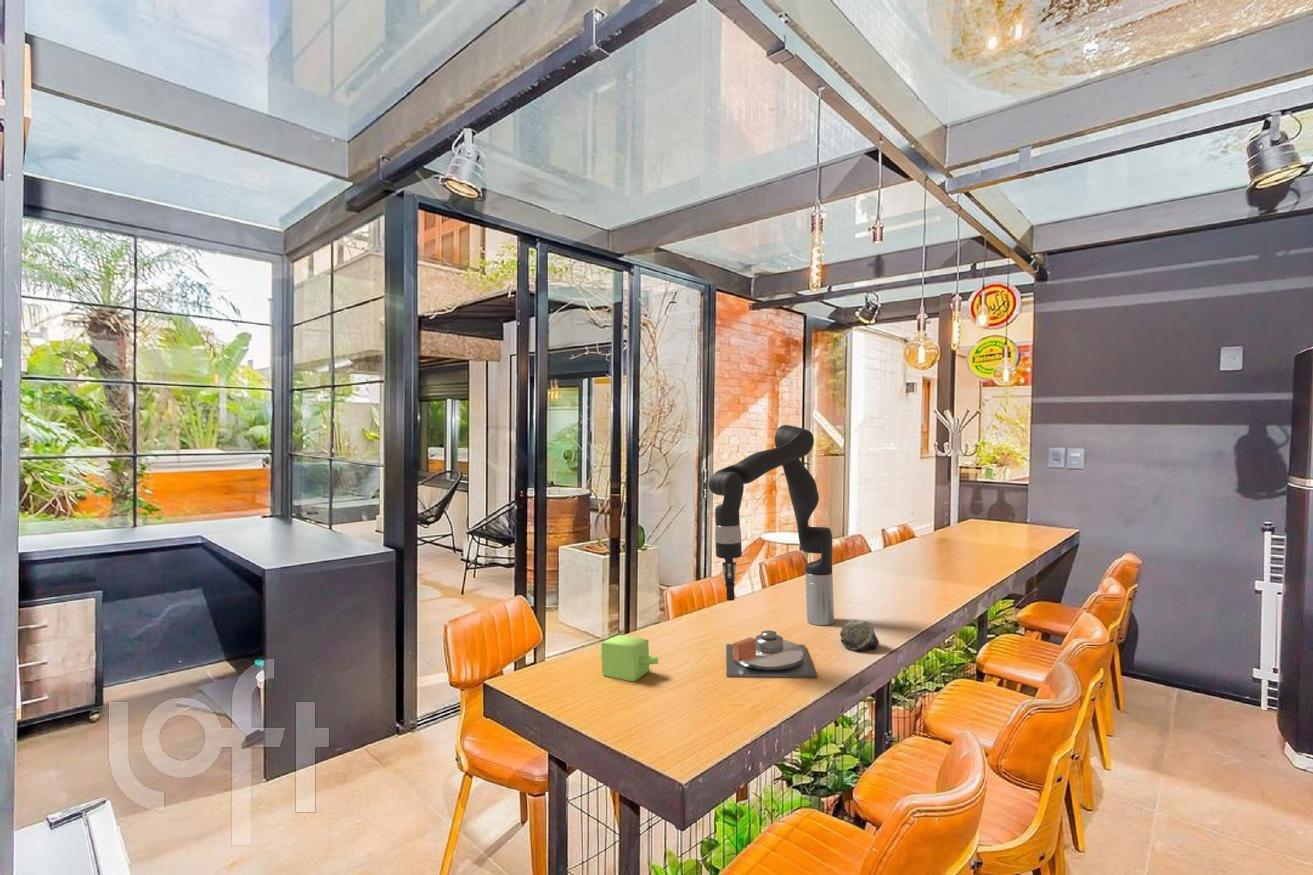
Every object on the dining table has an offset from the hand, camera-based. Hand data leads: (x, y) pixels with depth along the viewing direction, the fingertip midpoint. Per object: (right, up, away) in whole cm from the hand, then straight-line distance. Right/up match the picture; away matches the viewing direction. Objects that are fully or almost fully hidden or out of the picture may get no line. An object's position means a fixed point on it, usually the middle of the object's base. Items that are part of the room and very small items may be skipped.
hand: (730, 599), depth 171 cm
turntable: (+10, -17, -1) cm, 19 cm away
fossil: (+41, -18, +10) cm, 45 cm away
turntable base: (+11, -18, 0) cm, 21 cm away
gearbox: (-29, -20, -5) cm, 35 cm away
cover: (+11, -15, +1) cm, 19 cm away
